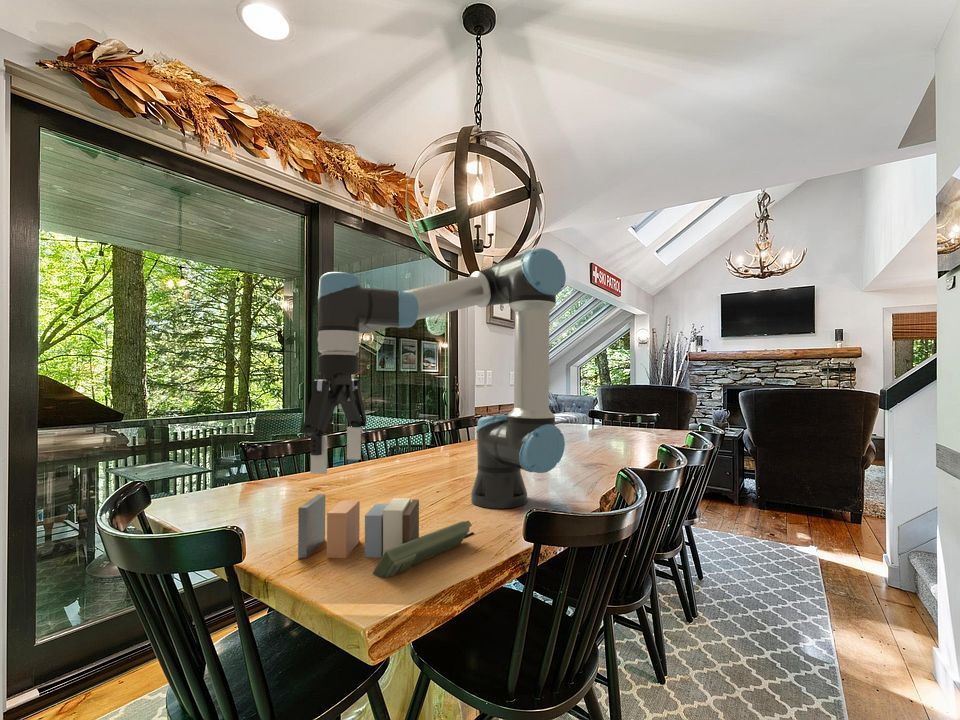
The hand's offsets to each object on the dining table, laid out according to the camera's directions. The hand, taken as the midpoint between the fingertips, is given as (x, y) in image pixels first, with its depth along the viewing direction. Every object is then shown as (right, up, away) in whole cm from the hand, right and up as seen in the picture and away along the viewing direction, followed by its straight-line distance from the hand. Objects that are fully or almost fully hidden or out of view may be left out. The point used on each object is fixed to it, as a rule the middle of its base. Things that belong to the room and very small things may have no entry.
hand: (337, 465), depth 85 cm
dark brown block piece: (+4, -17, -1) cm, 17 cm away
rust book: (+1, -16, 0) cm, 16 cm away
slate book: (+8, -16, -1) cm, 18 cm away
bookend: (-5, -16, 0) cm, 16 cm away
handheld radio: (+17, -17, -1) cm, 24 cm away
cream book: (+11, -16, -1) cm, 19 cm away
